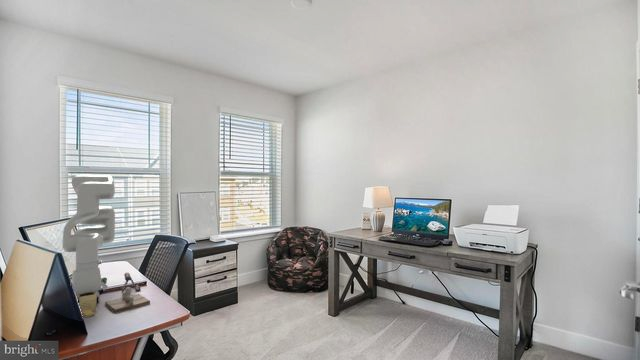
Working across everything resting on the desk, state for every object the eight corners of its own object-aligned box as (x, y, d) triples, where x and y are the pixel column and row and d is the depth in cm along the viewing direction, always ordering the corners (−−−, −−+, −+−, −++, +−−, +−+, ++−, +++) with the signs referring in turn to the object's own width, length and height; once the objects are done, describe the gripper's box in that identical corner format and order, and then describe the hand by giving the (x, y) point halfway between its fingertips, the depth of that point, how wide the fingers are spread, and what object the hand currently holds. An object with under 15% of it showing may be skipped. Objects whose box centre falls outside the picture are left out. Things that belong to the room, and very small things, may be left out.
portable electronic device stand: (140, 291, 161) (140, 275, 161) (122, 294, 156) (122, 277, 156) (138, 286, 168) (139, 271, 168) (121, 289, 164) (121, 273, 164)
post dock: (105, 305, 142) (105, 288, 142) (138, 297, 153) (139, 281, 153) (114, 313, 134) (115, 295, 134) (149, 303, 144) (150, 287, 144)
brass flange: (73, 311, 135) (73, 292, 135) (90, 307, 140) (90, 288, 140) (80, 319, 127) (81, 299, 127) (98, 314, 132) (98, 295, 132)
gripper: (107, 260, 143) (106, 300, 143) (59, 268, 130) (57, 312, 129) (113, 263, 138) (112, 304, 138) (63, 271, 125) (62, 317, 125)
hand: (85, 307), depth 134 cm, fingers closed on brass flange, 5 cm apart
